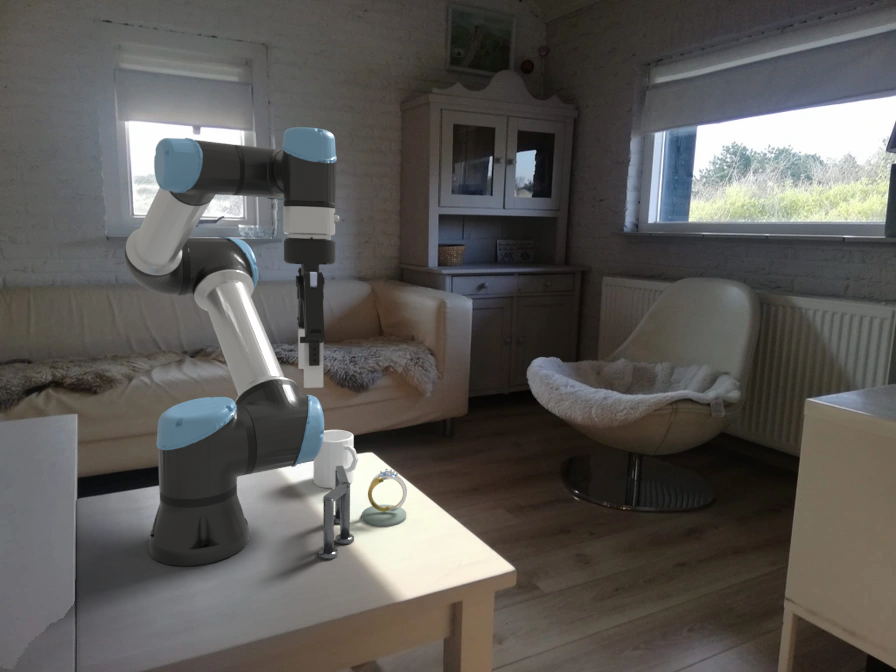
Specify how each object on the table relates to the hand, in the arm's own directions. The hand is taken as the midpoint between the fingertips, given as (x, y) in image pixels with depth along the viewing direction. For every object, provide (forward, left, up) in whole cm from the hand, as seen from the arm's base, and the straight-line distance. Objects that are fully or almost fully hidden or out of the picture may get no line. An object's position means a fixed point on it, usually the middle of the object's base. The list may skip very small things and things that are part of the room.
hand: (310, 377), depth 100 cm
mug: (-10, +28, -29) cm, 41 cm away
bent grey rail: (+1, +6, -29) cm, 29 cm away
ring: (+5, +18, -28) cm, 34 cm away
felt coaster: (+5, +17, -29) cm, 34 cm away
